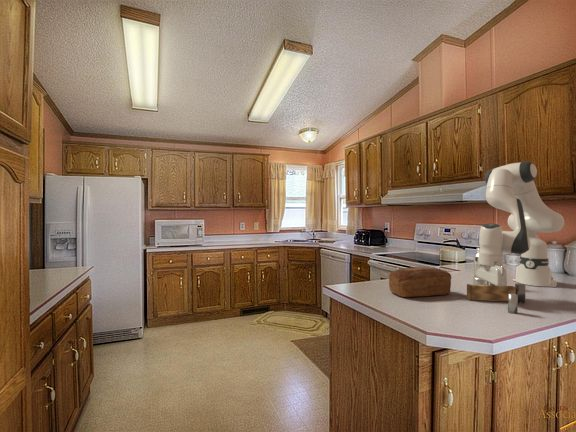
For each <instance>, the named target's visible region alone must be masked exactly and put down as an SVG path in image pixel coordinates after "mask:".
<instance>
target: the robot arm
mask: <svg viewBox="0 0 576 432" xmlns="http://www.w3.org/2000/svg"><path fill="white" fill-rule="evenodd" d="M537 177H538V169H537V166H536V164H535V163H534V162H532V161H528V160H527V161H521V162H514V163H513V162H512V163H508V164H505V165H500V166H498V167H493V168H491V169H488V170H487V171H486V172H485V174H484V182H485V185H486V189H485V200H486V202H487V203H488V204H489V205H490V206H491V207H493V208H494V209H498V210H502V211H504V212H506V213H510V215H509V216H508V217H507V226H508V227H509V228H510V229H511V230H503V229H502V225H500V224H498V223H484V224H482V225H481V226H480V228H479V229H480V230H479V235H478V241H477V243H478V246H479V248H480V251H479V255H478V256H476V257H475V258H474V260H475V262H476V263H475V272H476V276H477V277H479V278H481V279H483V280H485V283H486V285H496V286H501V287H505V286H508V275H507V270H506V269H505V267H504V266H503V265H504V263H503V261H504V253H510V254H517V255H520V257H519V265H517V266H516V272H515V278H512V281H514V282H516V283H518V284H525V286H527V285H528V286H535V287H545V288H546V287H549V288H550V287H551V288H557V286H558V281H557V280H555V279H554V277H553V275H552V274H553V273H552V270H551V268H550V266H549V264H550V263H549V258H548V244H547V243H546V241H545V240H542V239H541V238H540V237H539V236H538V235H537V234H538V233H545V234H547V233H556V232H560V231H562V229H563V228H564V227H565V218H564V216H562V214H561V213H559V212H556V211H554V210H553V209H551V208H550V207H549V206H547V205H546V204H545V203H544V202H543V199H541V196H540V195H539V192H538V189H537V186H536V183H535V179H536V178H537ZM474 260H473V261H474Z"/></svg>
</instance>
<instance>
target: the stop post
mask: <svg viewBox="0 0 576 432" xmlns="http://www.w3.org/2000/svg"><path fill="white" fill-rule="evenodd" d="M518 305H519V304H518V295H517V294H513V293H508V301H507V312H508V313H509V314H514V315H517V314H518V311H519V310H518V309H519V307H518Z"/></svg>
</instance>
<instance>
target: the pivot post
mask: <svg viewBox="0 0 576 432" xmlns="http://www.w3.org/2000/svg"><path fill="white" fill-rule="evenodd" d="M514 287H515V294H517V295H518V303H519V304H526V284H521V283H518V282H516V283H515V284H514Z"/></svg>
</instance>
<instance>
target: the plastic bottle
mask: <svg viewBox="0 0 576 432" xmlns="http://www.w3.org/2000/svg"><path fill="white" fill-rule="evenodd" d="M479 251H480V247H476V250H475V252H476V253H475V254H474V255H473V264H474V265H473V268H474V272H473V278H472V285H486V283H485V280H483V279H481V278H479V277H477V276H476V272H475V263H476V262H475V260H474V258H475V257H476V256H478V255H479Z"/></svg>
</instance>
